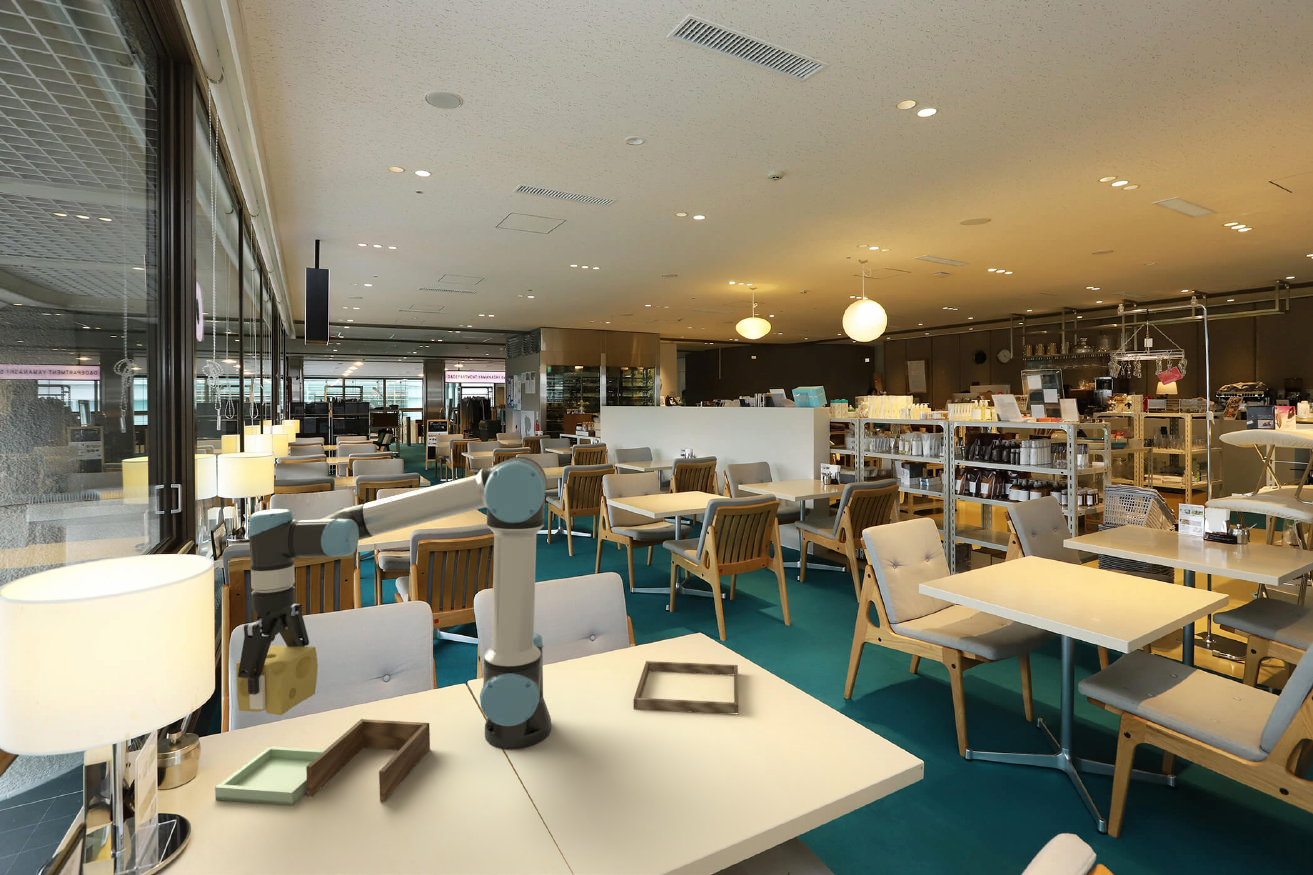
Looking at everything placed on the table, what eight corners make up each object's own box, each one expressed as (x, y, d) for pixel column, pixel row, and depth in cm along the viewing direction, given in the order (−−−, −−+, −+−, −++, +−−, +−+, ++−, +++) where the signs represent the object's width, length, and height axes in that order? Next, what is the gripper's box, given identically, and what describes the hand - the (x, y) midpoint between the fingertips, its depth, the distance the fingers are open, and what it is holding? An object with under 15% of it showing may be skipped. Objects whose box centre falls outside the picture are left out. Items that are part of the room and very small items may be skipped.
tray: (339, 761, 140) (338, 750, 140) (292, 805, 125) (291, 792, 125) (269, 757, 142) (269, 746, 142) (215, 799, 127) (215, 787, 127)
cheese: (282, 716, 126) (280, 665, 126) (233, 711, 128) (231, 661, 128) (319, 692, 136) (317, 645, 136) (274, 688, 138) (272, 642, 138)
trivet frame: (737, 673, 184) (737, 665, 184) (738, 714, 160) (738, 704, 160) (646, 669, 187) (646, 660, 187) (633, 709, 163) (633, 699, 163)
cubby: (430, 749, 145) (429, 722, 144) (384, 801, 126) (383, 771, 126) (361, 745, 147) (361, 718, 146) (307, 796, 128) (306, 766, 127)
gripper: (293, 571, 143) (297, 671, 144) (211, 604, 120) (216, 722, 121) (325, 572, 142) (329, 672, 143) (249, 605, 119) (253, 724, 120)
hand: (277, 695), depth 132 cm, fingers closed on cheese, 10 cm apart
